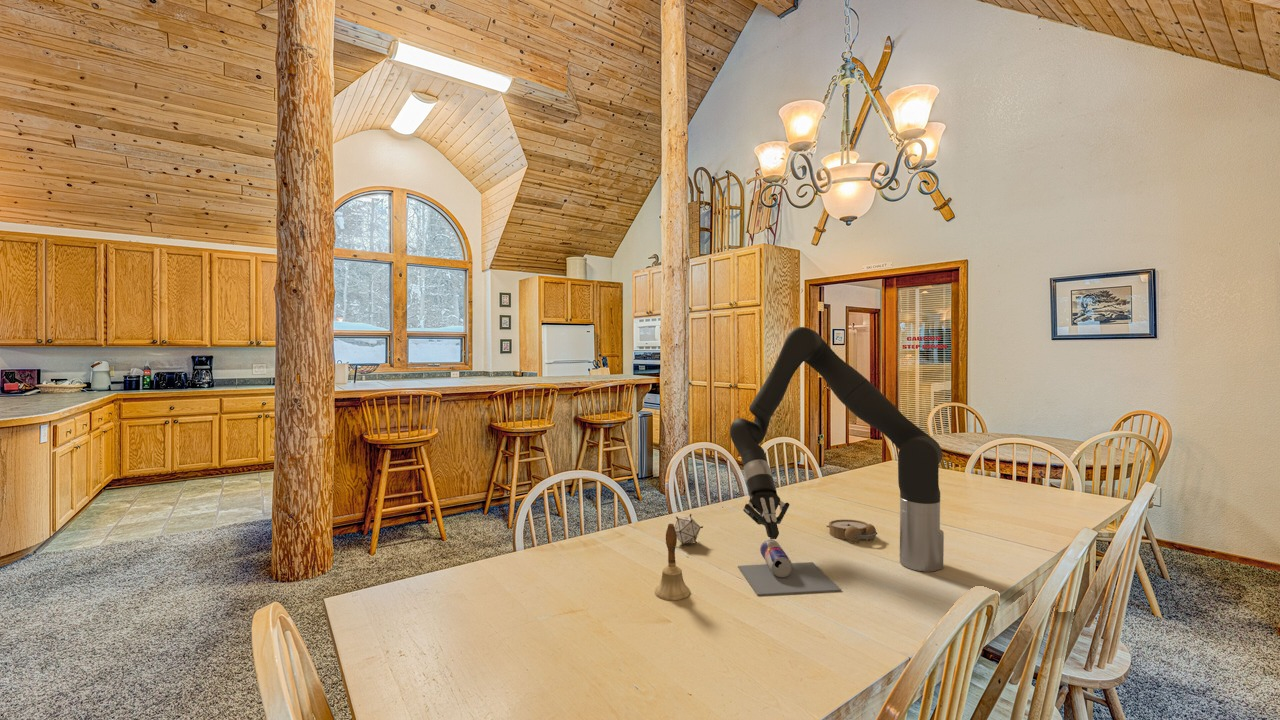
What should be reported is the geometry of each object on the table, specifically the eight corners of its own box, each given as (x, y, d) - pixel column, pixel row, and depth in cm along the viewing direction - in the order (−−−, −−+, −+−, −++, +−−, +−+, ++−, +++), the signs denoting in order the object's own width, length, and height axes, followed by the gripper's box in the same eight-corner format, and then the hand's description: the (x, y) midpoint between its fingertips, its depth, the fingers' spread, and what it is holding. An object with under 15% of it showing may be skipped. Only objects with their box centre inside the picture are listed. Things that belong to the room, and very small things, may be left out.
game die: (692, 558, 155) (704, 537, 150) (664, 547, 155) (676, 526, 150) (696, 533, 163) (708, 512, 157) (669, 523, 163) (680, 502, 157)
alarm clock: (850, 517, 170) (885, 523, 156) (852, 534, 170) (888, 541, 156) (820, 521, 167) (853, 528, 153) (822, 538, 166) (856, 546, 152)
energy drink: (768, 534, 144) (780, 552, 132) (784, 547, 144) (797, 565, 132) (755, 550, 144) (766, 569, 132) (771, 563, 144) (783, 582, 132)
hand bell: (660, 602, 121) (660, 531, 120) (650, 587, 129) (649, 520, 128) (695, 598, 123) (695, 528, 122) (683, 582, 131) (682, 517, 130)
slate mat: (812, 563, 142) (812, 562, 142) (841, 591, 126) (841, 589, 126) (737, 567, 140) (737, 565, 140) (757, 595, 124) (757, 594, 124)
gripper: (739, 473, 150) (752, 532, 138) (785, 471, 151) (802, 530, 139) (733, 487, 155) (746, 545, 143) (778, 485, 156) (794, 543, 145)
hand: (774, 537), depth 141 cm, fingers closed
